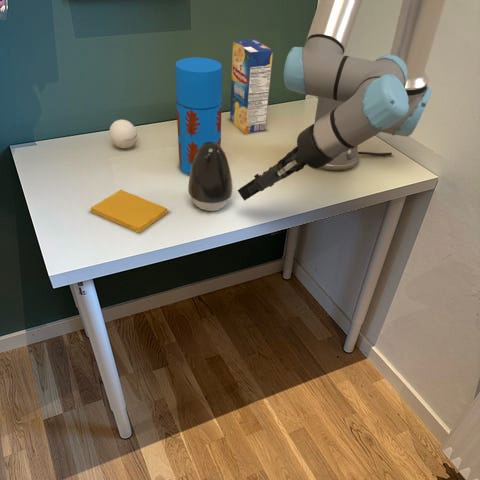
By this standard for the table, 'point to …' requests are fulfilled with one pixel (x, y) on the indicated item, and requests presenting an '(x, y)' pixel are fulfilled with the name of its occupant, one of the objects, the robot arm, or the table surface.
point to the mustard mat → (129, 210)
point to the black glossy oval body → (210, 178)
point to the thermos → (197, 106)
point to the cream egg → (123, 133)
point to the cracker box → (250, 85)
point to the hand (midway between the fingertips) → (242, 194)
